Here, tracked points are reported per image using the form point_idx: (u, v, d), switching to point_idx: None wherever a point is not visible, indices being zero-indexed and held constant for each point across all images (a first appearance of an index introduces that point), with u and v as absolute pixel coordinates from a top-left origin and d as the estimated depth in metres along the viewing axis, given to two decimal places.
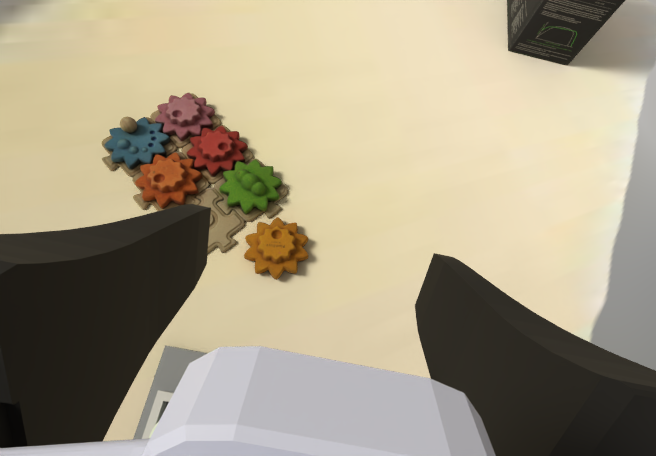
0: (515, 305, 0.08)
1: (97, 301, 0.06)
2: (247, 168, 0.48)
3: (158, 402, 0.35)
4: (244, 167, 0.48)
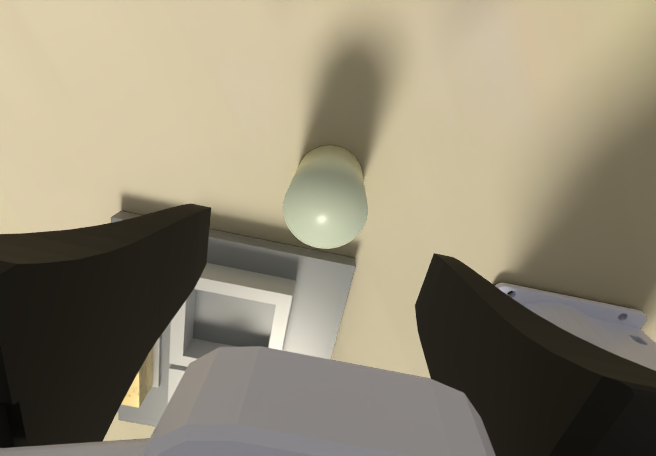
0: (515, 305, 0.08)
1: (97, 301, 0.06)
2: None
3: None
4: None
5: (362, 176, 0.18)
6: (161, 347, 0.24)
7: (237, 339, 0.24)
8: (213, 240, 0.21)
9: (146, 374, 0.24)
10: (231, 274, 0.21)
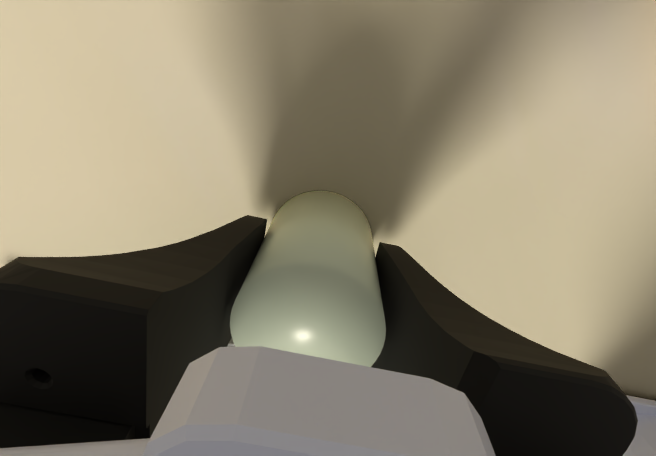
0: (441, 290, 0.08)
1: (198, 320, 0.06)
2: None
3: None
4: None
5: (372, 246, 0.11)
6: None
7: None
8: None
9: None
10: None
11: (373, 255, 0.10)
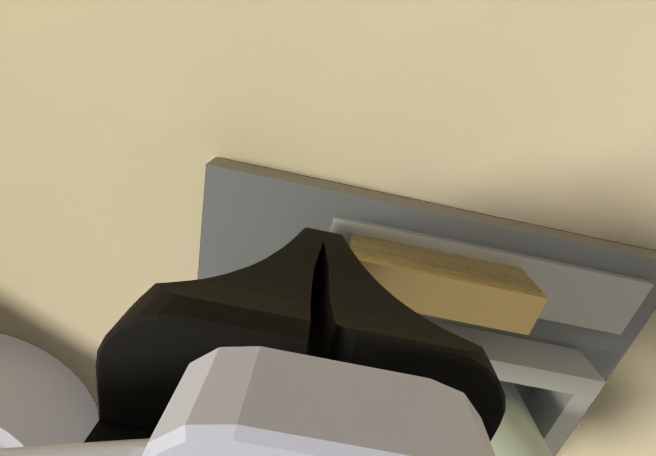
0: (362, 274, 0.08)
1: None
2: None
3: None
4: None
5: None
6: None
7: None
8: None
9: None
10: None
11: None
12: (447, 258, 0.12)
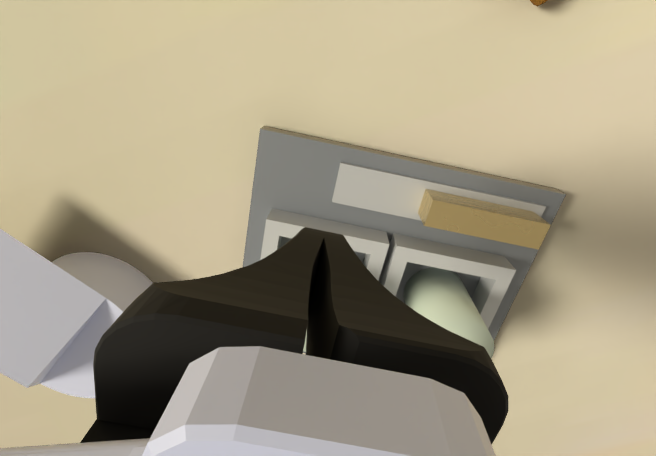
0: (363, 275, 0.08)
1: None
2: None
3: (271, 238, 0.20)
4: None
5: None
6: (391, 212, 0.21)
7: (398, 291, 0.23)
8: (518, 283, 0.22)
9: None
10: None
11: None
12: (487, 204, 0.19)
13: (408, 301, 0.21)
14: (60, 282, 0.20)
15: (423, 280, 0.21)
